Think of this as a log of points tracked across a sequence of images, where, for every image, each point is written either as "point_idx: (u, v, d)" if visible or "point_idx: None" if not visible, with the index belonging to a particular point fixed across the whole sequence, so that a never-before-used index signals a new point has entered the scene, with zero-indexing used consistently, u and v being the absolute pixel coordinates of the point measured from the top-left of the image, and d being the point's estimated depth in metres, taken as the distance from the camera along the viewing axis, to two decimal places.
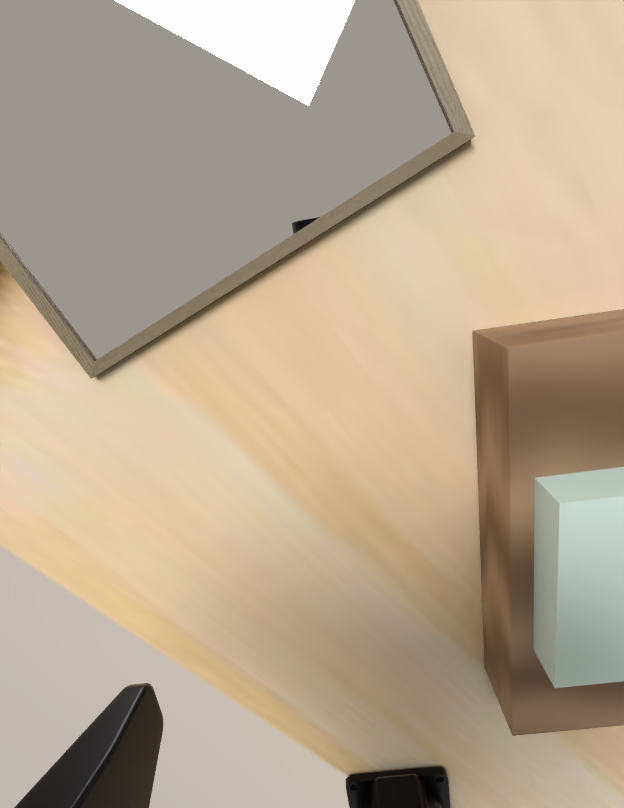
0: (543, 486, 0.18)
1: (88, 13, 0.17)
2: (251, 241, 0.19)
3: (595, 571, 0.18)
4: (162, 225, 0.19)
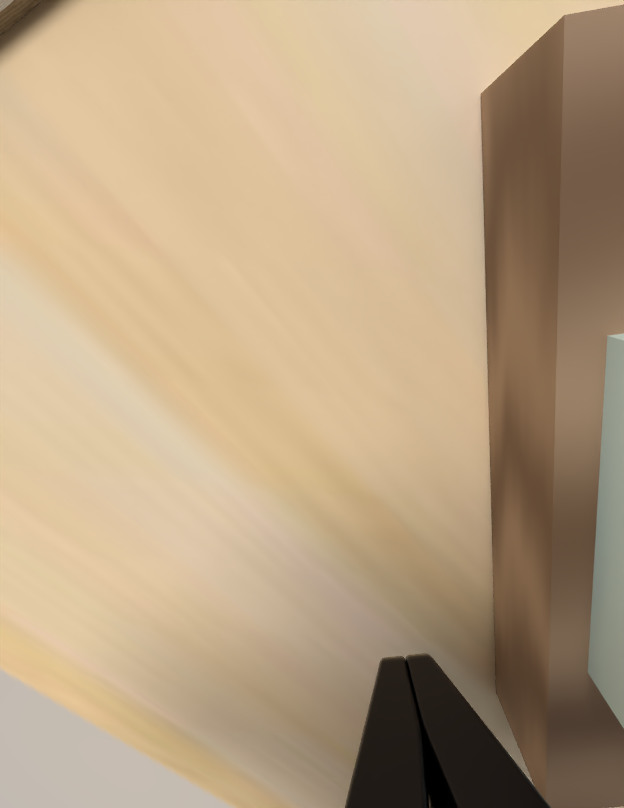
0: None
1: None
2: None
3: None
4: None
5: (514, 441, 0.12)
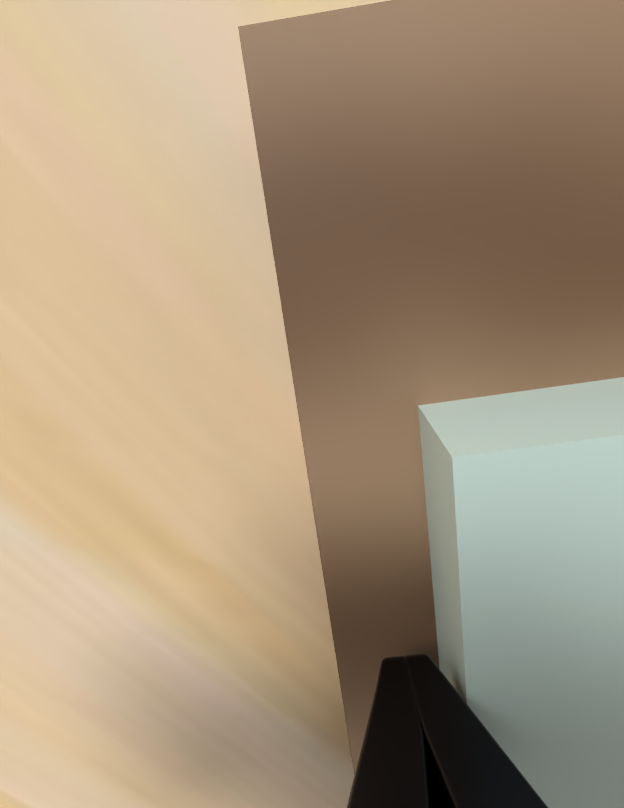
0: (428, 420, 0.07)
1: None
2: None
3: (564, 646, 0.07)
4: None
5: None
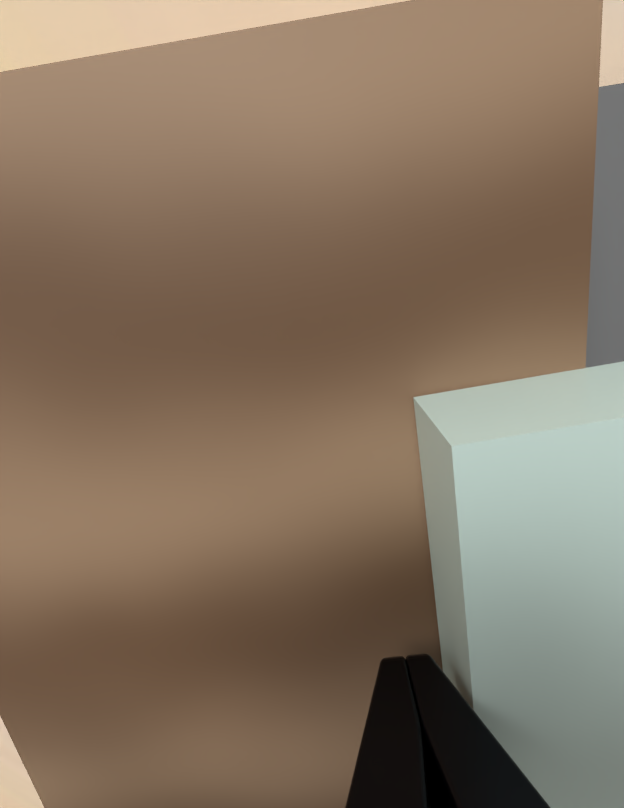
0: (424, 411, 0.07)
1: None
2: None
3: (568, 635, 0.06)
4: None
5: None
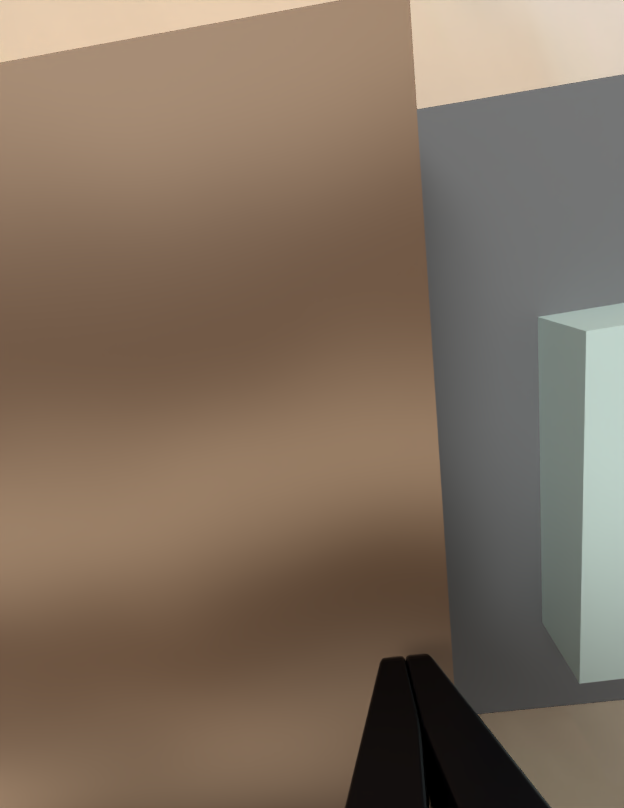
0: None
1: None
2: None
3: None
4: None
5: None
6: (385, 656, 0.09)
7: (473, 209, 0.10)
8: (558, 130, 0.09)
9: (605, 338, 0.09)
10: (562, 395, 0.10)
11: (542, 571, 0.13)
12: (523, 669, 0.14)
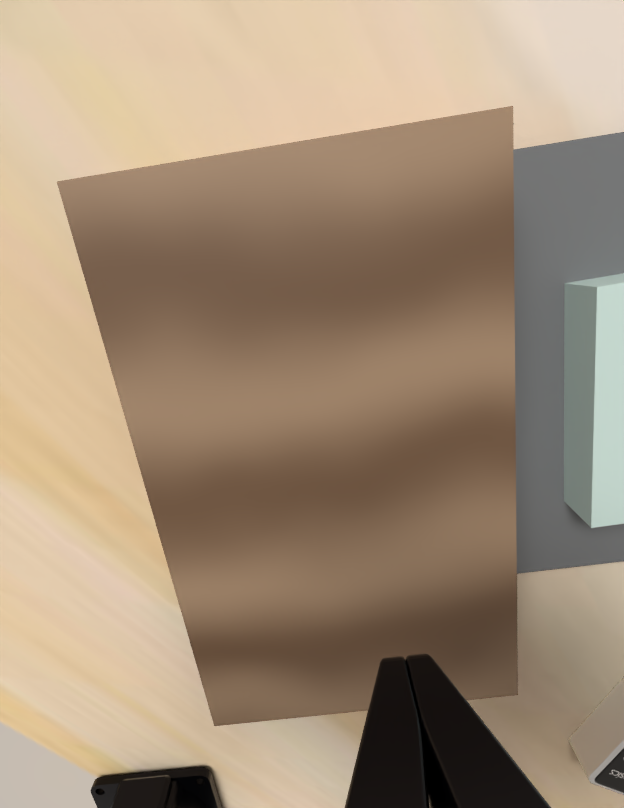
0: None
1: None
2: None
3: None
4: None
5: None
6: (475, 486, 0.15)
7: (525, 214, 0.16)
8: (579, 165, 0.15)
9: (608, 291, 0.15)
10: (581, 331, 0.16)
11: (564, 461, 0.19)
12: (550, 537, 0.20)
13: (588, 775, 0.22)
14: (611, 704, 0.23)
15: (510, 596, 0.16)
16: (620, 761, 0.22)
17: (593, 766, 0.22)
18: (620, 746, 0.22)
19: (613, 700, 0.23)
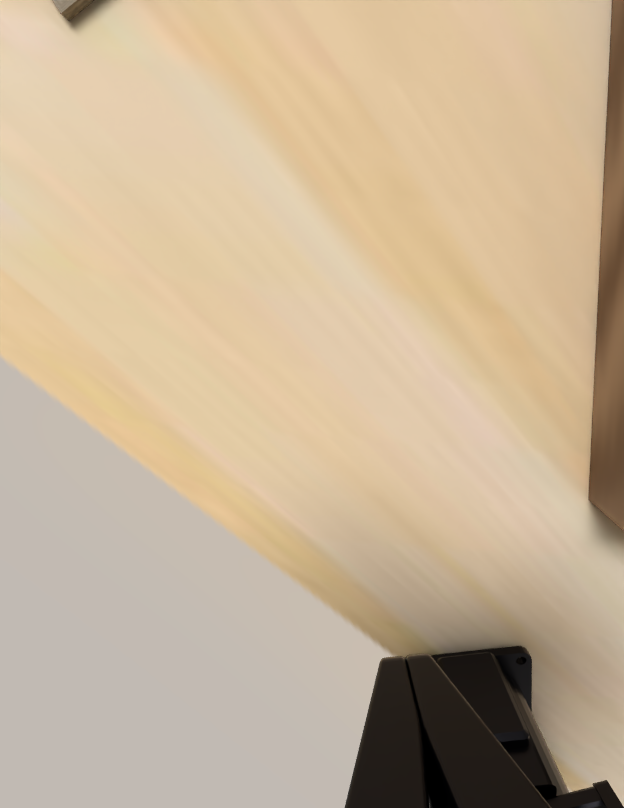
0: None
1: None
2: None
3: None
4: None
5: None
6: None
7: None
8: None
9: None
10: None
11: None
12: None
13: None
14: None
15: None
16: None
17: None
18: None
19: None
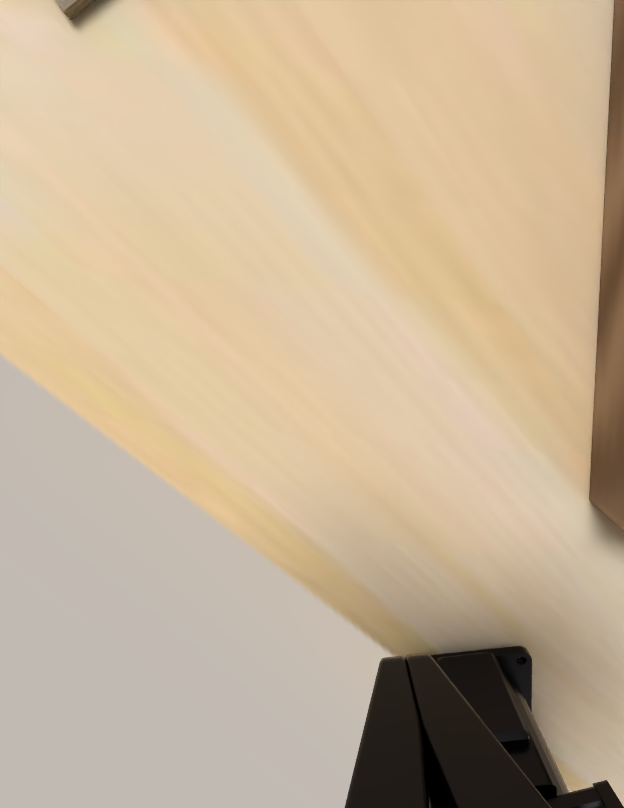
0: None
1: None
2: None
3: None
4: None
5: None
6: None
7: None
8: None
9: None
10: None
11: None
12: None
13: None
14: None
15: None
16: None
17: None
18: None
19: None
